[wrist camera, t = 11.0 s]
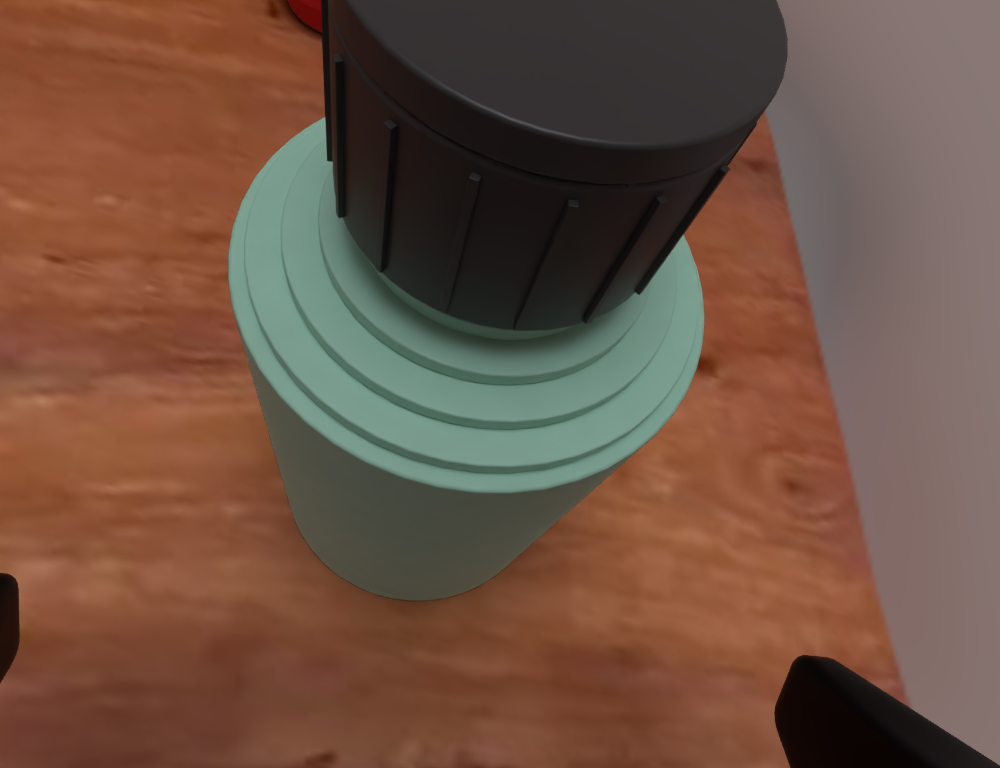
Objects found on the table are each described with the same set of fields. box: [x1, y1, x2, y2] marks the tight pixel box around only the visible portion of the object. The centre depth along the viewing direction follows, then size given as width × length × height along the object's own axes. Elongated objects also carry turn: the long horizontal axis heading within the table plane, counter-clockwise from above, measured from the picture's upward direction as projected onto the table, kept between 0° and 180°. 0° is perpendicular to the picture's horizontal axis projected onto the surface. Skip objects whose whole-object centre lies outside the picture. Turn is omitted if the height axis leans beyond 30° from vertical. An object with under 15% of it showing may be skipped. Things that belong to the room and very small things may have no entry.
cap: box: [321, 0, 787, 331], centre depth 6 cm, size 4×4×3 cm
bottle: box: [228, 117, 704, 601], centre depth 11 cm, size 6×6×12 cm
